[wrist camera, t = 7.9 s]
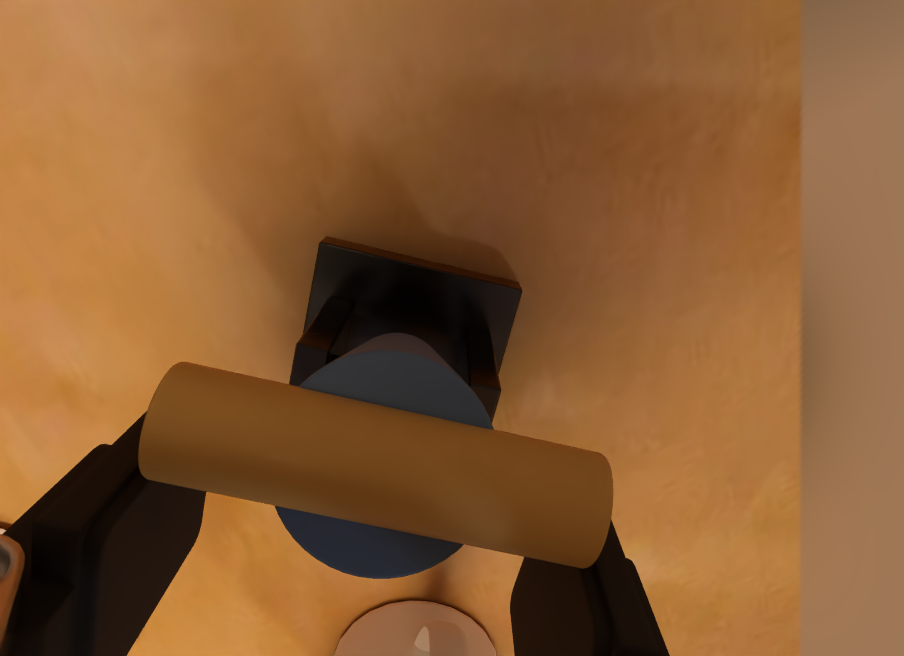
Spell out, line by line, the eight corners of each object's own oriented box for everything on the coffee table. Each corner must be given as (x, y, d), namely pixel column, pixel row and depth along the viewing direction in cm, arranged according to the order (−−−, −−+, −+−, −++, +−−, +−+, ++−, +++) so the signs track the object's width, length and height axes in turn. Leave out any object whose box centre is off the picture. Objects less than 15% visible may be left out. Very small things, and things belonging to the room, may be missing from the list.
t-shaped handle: (169, 300, 8) (109, 558, 8) (638, 407, 8) (582, 649, 8) (313, 312, 20) (290, 412, 20) (499, 354, 20) (476, 452, 20)
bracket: (325, 235, 24) (282, 275, 18) (519, 282, 24) (542, 335, 18) (297, 387, 26) (250, 470, 19) (478, 427, 26) (486, 519, 20)
